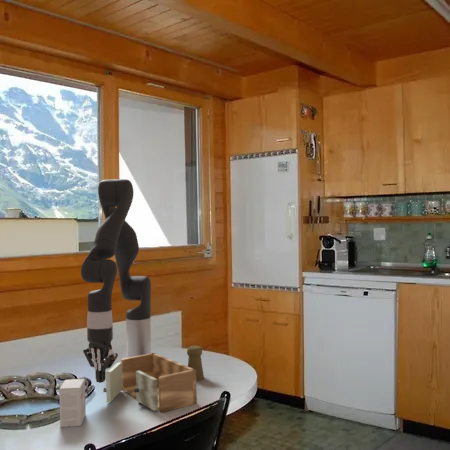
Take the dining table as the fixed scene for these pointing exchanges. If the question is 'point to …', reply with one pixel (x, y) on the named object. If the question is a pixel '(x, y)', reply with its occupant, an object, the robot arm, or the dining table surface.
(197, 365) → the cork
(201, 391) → the dining table surface
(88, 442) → the dining table surface
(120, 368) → the door
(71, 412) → the small box
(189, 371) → the cabinet
